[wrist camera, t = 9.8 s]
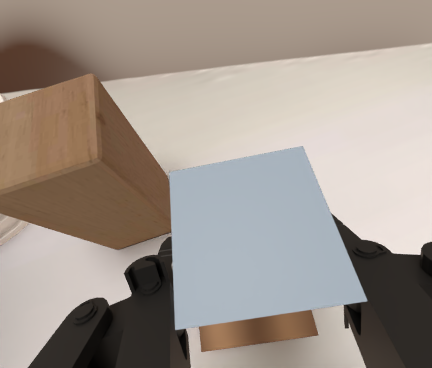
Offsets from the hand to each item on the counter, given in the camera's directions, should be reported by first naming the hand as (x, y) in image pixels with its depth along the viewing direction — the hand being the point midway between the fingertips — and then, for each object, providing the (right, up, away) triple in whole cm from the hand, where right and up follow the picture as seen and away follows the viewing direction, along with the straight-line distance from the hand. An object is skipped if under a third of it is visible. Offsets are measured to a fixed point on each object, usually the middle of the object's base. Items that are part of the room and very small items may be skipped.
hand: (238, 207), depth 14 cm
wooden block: (-13, -3, +21) cm, 25 cm away
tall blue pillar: (+1, -6, +3) cm, 7 cm away
